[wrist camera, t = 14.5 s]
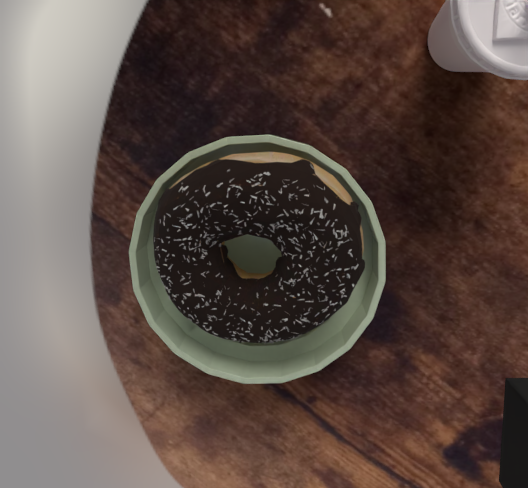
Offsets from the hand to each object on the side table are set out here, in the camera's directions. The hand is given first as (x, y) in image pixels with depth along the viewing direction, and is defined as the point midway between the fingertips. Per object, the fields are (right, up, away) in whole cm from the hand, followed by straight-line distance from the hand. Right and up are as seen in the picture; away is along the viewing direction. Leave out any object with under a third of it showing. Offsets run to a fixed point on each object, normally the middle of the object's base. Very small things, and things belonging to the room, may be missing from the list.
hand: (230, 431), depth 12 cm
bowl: (+1, +4, +20) cm, 20 cm away
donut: (+1, +5, +16) cm, 17 cm away
